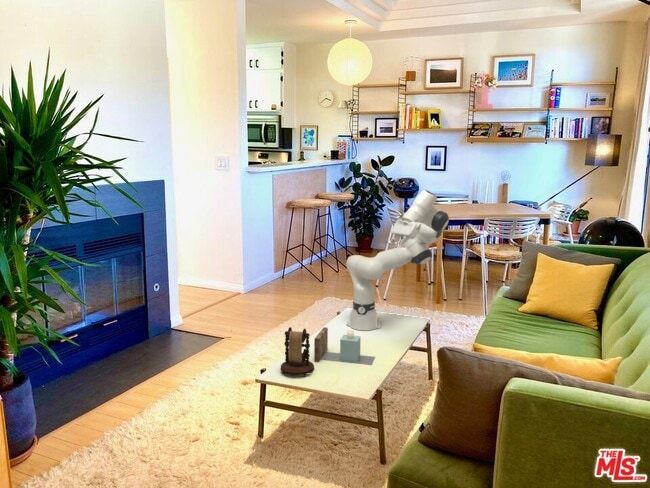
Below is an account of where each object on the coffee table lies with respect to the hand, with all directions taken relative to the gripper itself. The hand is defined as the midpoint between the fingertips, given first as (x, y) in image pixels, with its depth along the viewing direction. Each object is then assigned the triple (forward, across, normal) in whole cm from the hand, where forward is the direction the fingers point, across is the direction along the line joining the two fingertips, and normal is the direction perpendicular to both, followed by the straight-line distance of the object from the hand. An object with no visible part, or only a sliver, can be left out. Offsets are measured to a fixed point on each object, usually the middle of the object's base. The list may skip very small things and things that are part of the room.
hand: (396, 243), depth 253 cm
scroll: (+74, -6, +7) cm, 74 cm away
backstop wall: (+64, +6, -4) cm, 64 cm away
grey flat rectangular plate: (+57, -1, -13) cm, 59 cm away
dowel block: (+56, -2, -13) cm, 58 cm away
